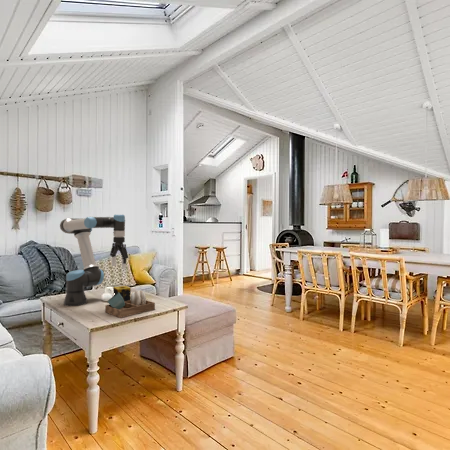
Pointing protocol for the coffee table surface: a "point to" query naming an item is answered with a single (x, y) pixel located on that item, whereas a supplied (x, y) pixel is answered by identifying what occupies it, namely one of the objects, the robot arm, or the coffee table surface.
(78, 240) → the robot arm
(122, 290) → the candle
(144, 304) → the tray
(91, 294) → the coffee table surface
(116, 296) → the flower pot
